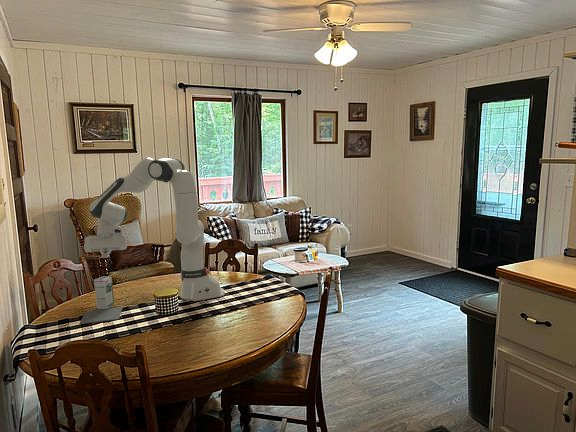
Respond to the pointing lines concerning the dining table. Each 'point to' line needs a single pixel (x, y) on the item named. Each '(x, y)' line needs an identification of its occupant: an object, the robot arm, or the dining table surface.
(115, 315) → the mat
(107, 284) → the syrup box
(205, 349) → the dining table surface
